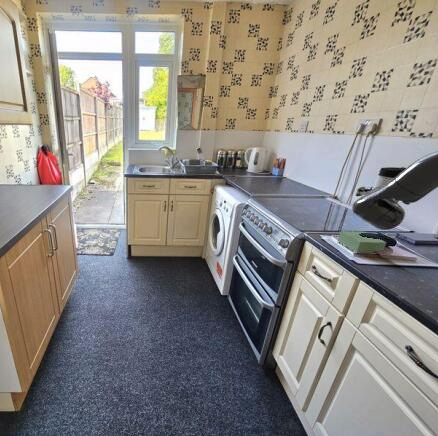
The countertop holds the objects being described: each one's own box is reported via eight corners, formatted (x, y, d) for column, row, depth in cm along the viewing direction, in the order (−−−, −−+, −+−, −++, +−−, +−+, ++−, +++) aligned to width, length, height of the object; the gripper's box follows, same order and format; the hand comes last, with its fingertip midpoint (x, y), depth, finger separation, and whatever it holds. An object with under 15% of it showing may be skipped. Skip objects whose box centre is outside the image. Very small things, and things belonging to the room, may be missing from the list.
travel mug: (388, 225, 87) (412, 169, 80) (366, 222, 89) (387, 167, 82) (379, 219, 92) (400, 166, 85) (358, 217, 94) (377, 164, 87)
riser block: (360, 242, 103) (364, 231, 101) (381, 254, 94) (386, 242, 92) (337, 241, 103) (340, 231, 101) (355, 253, 94) (360, 242, 92)
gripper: (418, 193, 71) (416, 184, 82) (356, 184, 80) (361, 177, 92) (408, 217, 74) (407, 206, 85) (348, 206, 83) (355, 197, 94)
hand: (383, 191), depth 88 cm, fingers closed on travel mug, 6 cm apart
